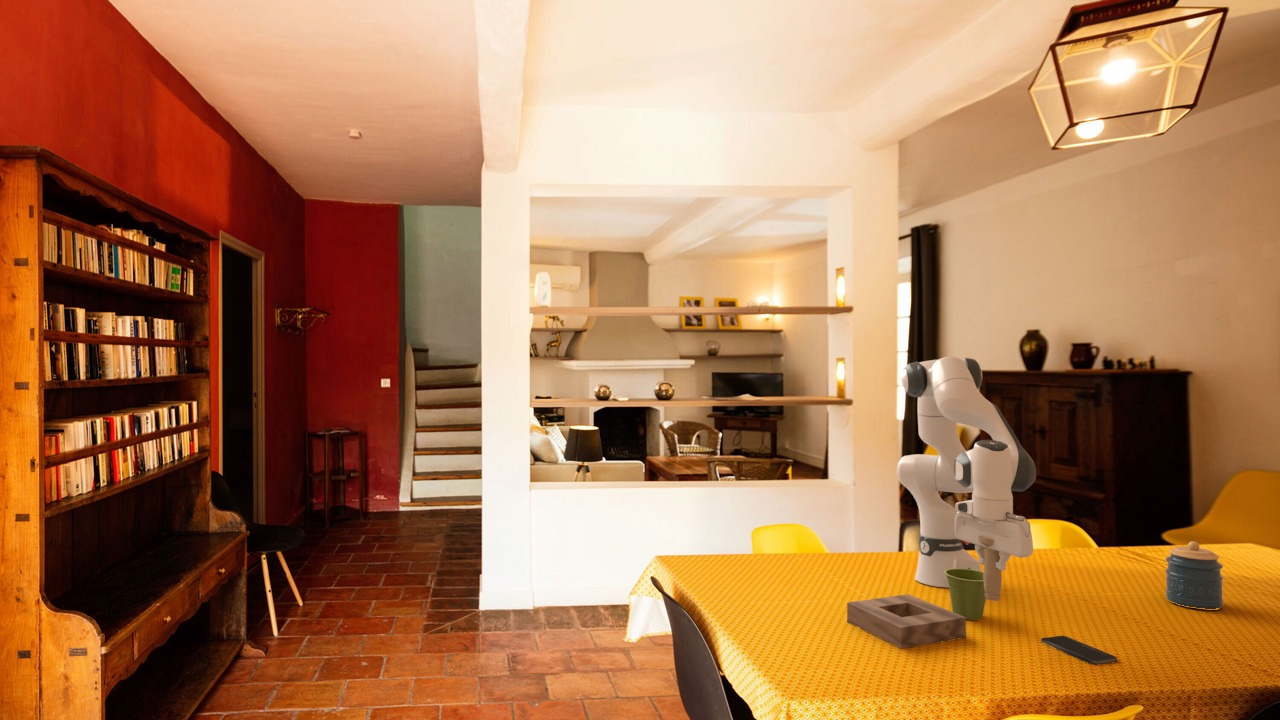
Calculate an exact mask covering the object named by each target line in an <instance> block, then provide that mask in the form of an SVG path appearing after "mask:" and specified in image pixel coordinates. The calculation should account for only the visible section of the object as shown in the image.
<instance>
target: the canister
mask: <svg viewBox="0 0 1280 720" xmlns="http://www.w3.org/2000/svg"><path fill="white" fill-rule="evenodd" d="M1169 554H1170V555H1169V556H1167V557H1165V561H1166V562H1167V567H1166V569H1165V573H1166V574H1165V575H1166V579H1165V580H1166V581H1165V582H1166V583H1165V584H1166V588H1165V589H1166V590H1165V596H1166V600H1167V599H1168V600H1170V601H1172V602H1175V603H1177V604H1180V605H1184V606H1189V607H1196V608H1205V609H1216V608H1220V607H1222V608H1223V605H1224V599H1223V581H1224V577H1223V576H1222V573H1221V571H1222V569H1223V568H1224V566H1223V564H1222V563H1220V562H1219V561H1218V560H1219V558H1220V556H1219V555H1217V554H1216V553H1214V552H1213V551H1212V550H1210V549H1207V548H1202V547H1200V544H1199V543H1198V542H1197V541H1192V540H1191V541H1189V542H1188V544H1187V546H1184V545H1179V546H1175V547H1174V548H1171V549H1170V550H1169ZM1168 600H1167V601H1168Z"/></svg>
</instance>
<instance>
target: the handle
mask: <svg viewBox="0 0 1280 720" xmlns="http://www.w3.org/2000/svg"><path fill="white" fill-rule="evenodd" d="M978 541H979V542H980V543H982V544H983V545H985V546H986V547H985V549H984V550H985V558H984V565H983V572H984V573H983V579H984V590H985V592H986V593H985V598H986V600H989V601H994V602H998V601H999V600H1001V591H1002V577H1003V576H1002V571H1001V570H998V569H996V562H997V561H999V560H1000V558H1001V556H999V551H996V550H993V549H990V548H988V547H989V546H991V545H993V541H994V539H991V538H987V537H983V536H980V535H979V536H978Z"/></svg>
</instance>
